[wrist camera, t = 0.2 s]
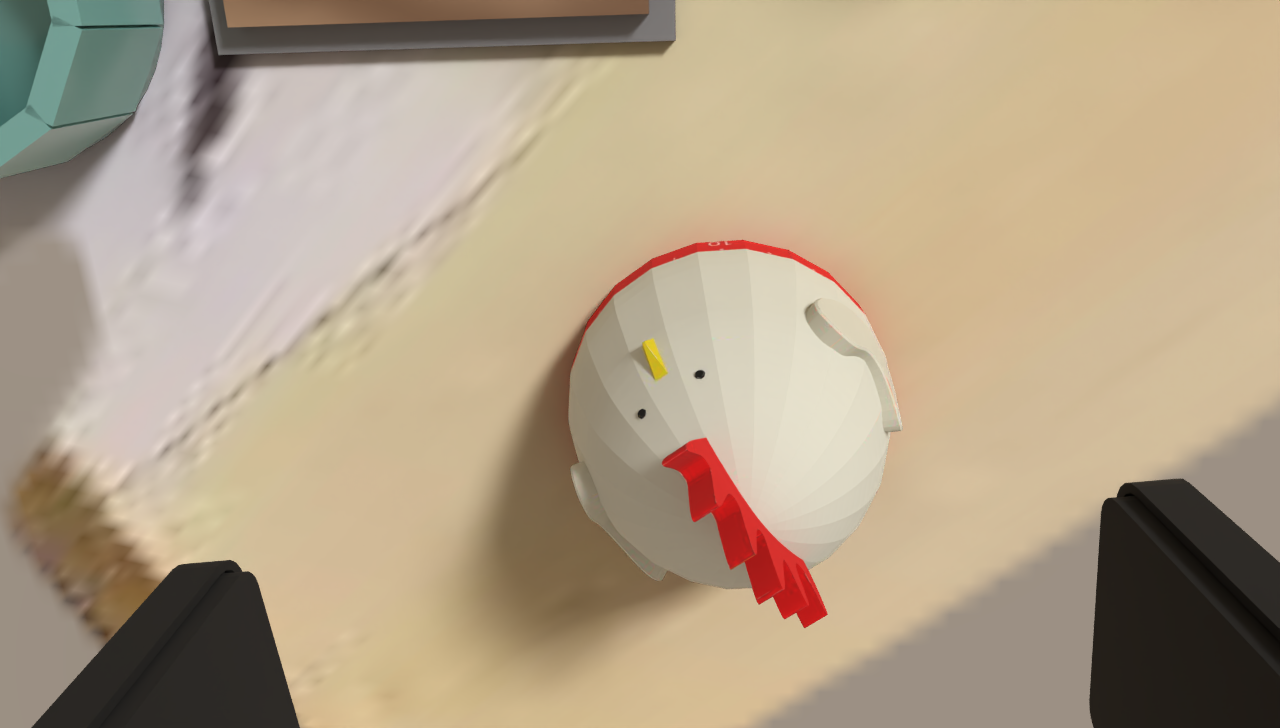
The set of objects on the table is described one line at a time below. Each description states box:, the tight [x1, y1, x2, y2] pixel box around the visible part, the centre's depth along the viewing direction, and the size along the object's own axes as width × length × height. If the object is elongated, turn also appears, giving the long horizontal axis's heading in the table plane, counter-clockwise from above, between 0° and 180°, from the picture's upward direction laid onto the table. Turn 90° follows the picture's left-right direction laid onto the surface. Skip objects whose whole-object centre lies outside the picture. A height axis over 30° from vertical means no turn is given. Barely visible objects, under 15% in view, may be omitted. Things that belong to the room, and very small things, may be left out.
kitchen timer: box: [568, 240, 903, 628], centre depth 35 cm, size 14×14×15 cm
